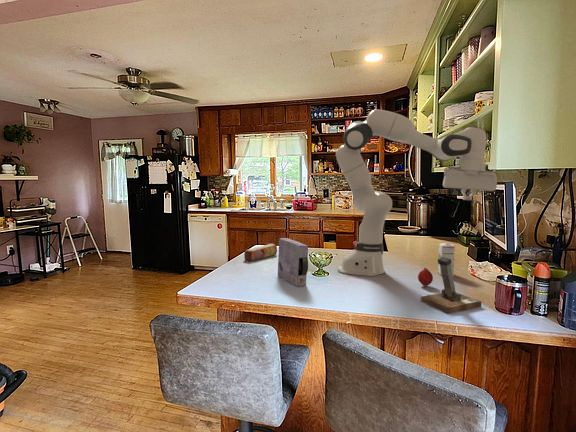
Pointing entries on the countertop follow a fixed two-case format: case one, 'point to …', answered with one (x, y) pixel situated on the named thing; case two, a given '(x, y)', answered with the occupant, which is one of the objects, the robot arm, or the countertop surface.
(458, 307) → the switch base
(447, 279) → the lever
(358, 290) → the countertop surface
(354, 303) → the countertop surface
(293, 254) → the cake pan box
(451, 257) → the white cylindrical container
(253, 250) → the snack package
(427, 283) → the onion
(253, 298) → the countertop surface
